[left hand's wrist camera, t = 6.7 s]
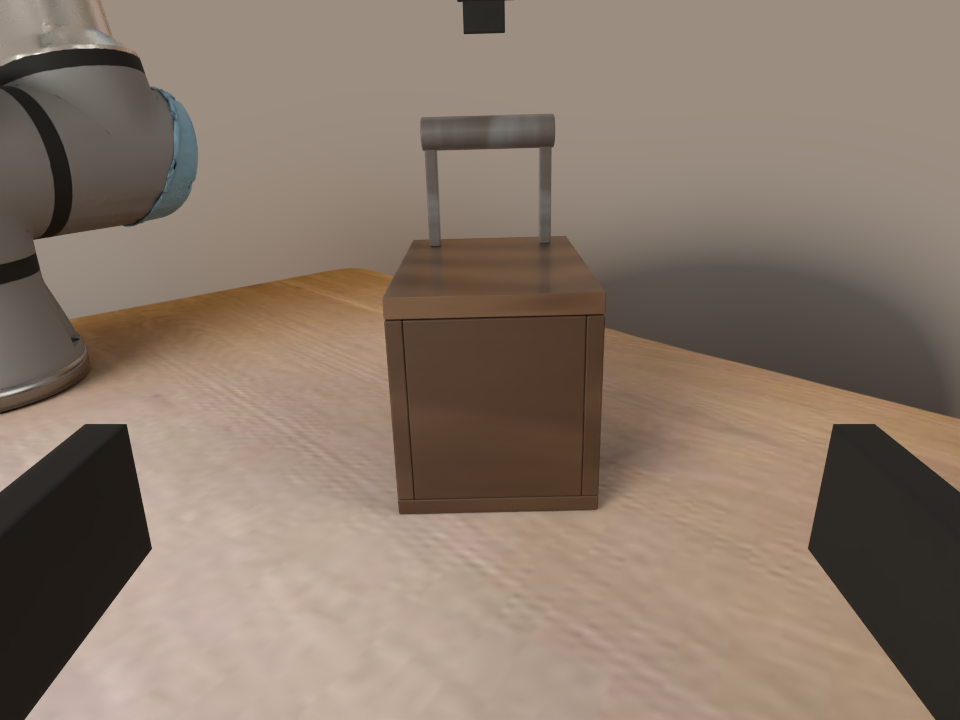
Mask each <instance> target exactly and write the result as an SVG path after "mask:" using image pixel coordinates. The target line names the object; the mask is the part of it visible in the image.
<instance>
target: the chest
mask: <svg viewBox="0 0 960 720" xmlns="http://www.w3.org/2000/svg"><path fill="white" fill-rule="evenodd" d="M384 325H385V338H386V351H387V364H388V377H389V389H390V402H391V415H392V428H393V441H394V454H395V466H396V479H397V492H398V505H399V513H400V514H419V513H463V512H508V511H552V510H596V509H597V508H598V485H599V459H600V433H601V407H602V381H603V355H604V329H605V316H604V314H589V315H550V316H510V317H471V318H431V319H392V320H385V322H384Z"/></svg>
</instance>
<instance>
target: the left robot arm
mask: <svg viewBox="0 0 960 720" xmlns="http://www.w3.org/2000/svg"><path fill="white" fill-rule="evenodd" d="M151 549H152V547H151V542H150V537H149V532H148V527H147V522H146V517H145V512H144V507H143V503H142V498H141V493H140V488H139V483H138V478H137V473H136V468H135V463H134V458H133V453H132V449H131V444H130V439H129V434H128V429H127V424H85V425H84V426H82V427H81V428H80V429H79V430H77V431H76V432H75V433H74V434H72V435H71V436H70V437H69V438H67V439H66V440H65V441H64V442H62V443H61V444H60V445H59V446H57V447H56V448H55V449H54V450H52V451H51V452H50V453H49V454H47V455H46V456H45V457H44V458H42V459H41V460H40V461H39V462H37V463H36V464H35V465H34V466H32V467H31V468H30V469H29V470H27V471H26V472H25V473H24V474H22V475H21V476H20V477H19V478H17V479H16V480H15V481H14V482H12V483H11V484H10V485H9V486H7V487H6V488H5V489H4V490H2V491H1V492H0V720H25V718H26V717H27V716H28V714H29V713H30V712H31V710H32V709H33V708H34V706H35V705H36V704H37V702H38V701H39V700H40V698H41V697H42V696H43V694H44V693H45V692H46V690H47V689H48V687H49V686H50V685H51V683H52V682H53V681H54V679H55V678H56V677H57V675H58V674H59V673H60V671H61V670H62V669H63V667H64V666H65V665H66V663H67V662H68V661H69V659H70V658H71V657H72V655H73V654H74V653H75V651H76V650H77V649H78V647H79V646H80V645H81V643H82V642H83V641H84V639H85V638H86V636H87V635H88V634H89V632H90V631H91V630H92V628H93V627H94V626H95V624H96V623H97V622H98V620H99V619H100V618H101V616H102V615H103V614H104V612H105V611H106V610H107V608H108V607H109V606H110V604H111V603H112V602H113V600H114V599H115V598H116V596H117V595H118V594H119V592H120V591H121V590H122V588H123V587H124V585H125V584H126V583H127V581H128V580H129V579H130V577H131V576H132V575H133V573H134V572H135V571H136V569H137V568H138V567H139V565H140V564H141V563H142V561H143V560H144V559H145V557H146V556H147V555H148V553H149V552H150V551H151ZM808 549H809V551H810V552H811V553H812V555H813V556H814V557H815V559H816V560H817V561H818V563H819V564H820V565H821V567H822V568H823V569H824V571H825V572H826V573H827V575H828V576H829V577H830V579H831V580H832V581H833V583H834V584H835V585H836V587H837V588H838V590H839V591H840V592H841V594H842V595H843V596H844V598H845V599H846V600H847V602H848V603H849V604H850V606H851V607H852V608H853V610H854V611H855V612H856V614H857V615H858V616H859V618H860V619H861V620H862V622H863V623H864V624H865V626H866V627H867V628H868V630H869V631H870V632H871V634H872V635H873V636H874V638H875V639H876V641H877V642H878V643H879V645H880V646H881V647H882V649H883V650H884V651H885V653H886V654H887V655H888V657H889V658H890V659H891V661H892V662H893V663H894V665H895V666H896V667H897V669H898V670H899V671H900V673H901V674H902V675H903V677H904V678H905V679H906V681H907V682H908V683H909V685H910V686H911V687H912V689H913V690H914V692H915V693H916V694H917V696H918V697H919V698H920V700H921V701H922V702H923V704H924V705H925V706H926V708H927V709H928V710H929V712H930V713H931V714H932V716H933V717H934V718H935V720H960V492H959V491H958V490H956V489H955V488H954V487H953V486H951V485H950V484H949V483H948V482H946V481H945V480H944V479H943V478H941V477H940V476H939V475H938V474H936V473H935V472H934V471H933V470H931V469H930V468H929V467H928V466H926V465H925V464H924V463H923V462H921V461H920V460H919V459H918V458H916V457H915V456H914V455H913V454H911V453H910V452H909V451H908V450H906V449H905V448H904V447H903V446H901V445H900V444H899V443H898V442H896V441H895V440H894V439H893V438H891V437H890V436H889V435H888V434H886V433H885V432H884V431H883V430H881V429H880V428H879V427H878V426H876V425H875V424H833V429H832V434H831V439H830V444H829V449H828V453H827V458H826V463H825V468H824V473H823V478H822V483H821V488H820V493H819V498H818V503H817V507H816V512H815V517H814V522H813V527H812V532H811V537H810V542H809V547H808Z"/></svg>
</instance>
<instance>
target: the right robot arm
mask: <svg viewBox="0 0 960 720" xmlns="http://www.w3.org/2000/svg"><path fill="white" fill-rule="evenodd" d="M457 1H458V2H463V24H464V34H484V33H505V7H504V0H457ZM197 166H198V147H197V140H196V135H195V131H194V128H193V124H192V122H191V119H190V117H189V115H188V113H187V111H186V110H185V108H184V107H183V105H182V104H181V103H180V102H178V101H175V98H174V97H173V96H172V95H171V94H170V93H168V92H166V91H163V90H162V89H158V88H156V87H150V86H149V84H148V81H147V78H146V75H145V72H144V69H143V66H142V63H141V60H140V58H139V56H138V54H137V53H135V52H134V51H133V50H131V49H129V48H128V47H126V46H125V45H123V44H121V43H120V42H118V41H117V40H115V39H114V38H113V35H112V33H111V30H110V27H109V24H108V21H107V18H106V15H105V12H104V9H103V6H102V4H101V1H100V0H0V412H3V411H7V410H11V409H14V408H17V407H21V406H24V405H27V404H30V403H33V402H36V401H39V400H41V399H44V398H47V397H49V396H51V395H54V394H56V393H58V392H60V391H63V390H64V389H66V388H68V387H70V386H72V385H74V384H75V383H77V382H78V381H79V380H81V379H82V378H83V377H84V376H85V375H86V374H87V373H88V372H89V370H90V367H91V366H90V361H89V357H88V353H87V349H86V345H85V344H84V342H83V340H82V338H81V337H80V336H79V334H78V333H76V332H75V330H74V328H73V326H72V324H71V323H70V321H69V319H68V318H67V316H66V314H65V313H64V311H63V310H62V308H61V307H60V305H59V304H58V302H57V301H56V299H55V298H54V296H53V295H52V293H51V292H50V290H49V289H48V287H47V286H46V284H45V282H44V280H43V278H42V274H41V271H40V267H39V263H38V259H37V255H36V250H35V246H34V242H33V240H35V239H41V238H47V237H53V236H59V235H64V234H70V233H77V232H83V231H89V230H96V229H102V228H108V227H115V226H121V225H123V226H125V227H126V226H135V225H137V224H140V223H143V222H145V221H148V220H153V219H157V218H162V217H165V216H168V215H170V214H172V213H173V212H175V211H176V210H178V209H179V208H180V207H181V206H182V205H183V203H184V202H185V201H186V199H187V198H188V196H189V194H190V192H191V189H192V182H193V181H194V180H195V178H196V173H197Z"/></svg>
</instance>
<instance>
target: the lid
mask: <svg viewBox="0 0 960 720" xmlns="http://www.w3.org/2000/svg"><path fill="white" fill-rule="evenodd" d="M420 132H421V145H422V149H423V151H425V163H426V183H427V202H428V222H429V240H413V242H412V244H411V246H410V248H409V249H408V251H407V253H406V255H405V257H404V259H403V261H402V263H401V264H400V266H399V268H398V270H397V272H396V274H395V275H394V277H393V279H392V281H391V283H390V285H389V287H388V288H387V290H386V292H385V294H384V296H383V298H382V302H383V314H384V319H385V320H392V319H431V318H471V317H510V316H550V315H589V314H605V306H606V292H605V290H604V289H603V287H602V286H601V285H600V283H599V282H598V281H597V279H596V278H595V276H594V275H593V273H592V272H591V271H590V269H589V268H588V266H587V265H586V264H585V262H584V261H583V259H582V258H581V257H580V255H579V254H578V253H577V251H576V250H575V248H574V247H573V246H572V244H571V243H570V241H569V240H568V239H567V237H566V236H551V147H553V146H554V142H555V117H554V114H527V115H491V116H455V117H422V118H421V121H420ZM507 148H539V237H513V238H474V239H441V226H440V205H439V183H438V161H437V150H470V149H471V150H472V149H507Z"/></svg>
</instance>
